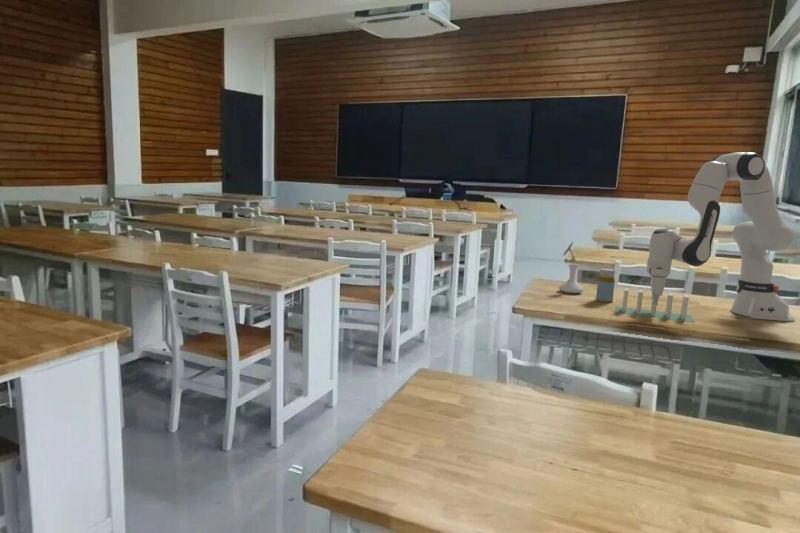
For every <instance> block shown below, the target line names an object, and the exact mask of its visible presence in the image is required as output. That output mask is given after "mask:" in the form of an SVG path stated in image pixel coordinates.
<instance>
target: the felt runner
mask: <svg viewBox="0 0 800 533" xmlns="http://www.w3.org/2000/svg"><path fill="white" fill-rule="evenodd" d="M636 309H637V308H633V307H627V309H626V312H622V306H618V305H616V306H615V308H614V313H615V314H622V315H630V316H639V317H647V318H655V319H661V320H662V319H663V320H668V321H677V322H687V323H693V324H695V321H694V318H693V316H692V315H690V314H686V319H681V317H680V314H681V313H675V312H671V317H666V315H665V313H666V311H658V310H656V315H655V316H654V315H651V309H649V310H648V309H642V308H641V314H638V313H636Z"/></svg>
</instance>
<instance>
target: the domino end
mask: <svg viewBox="0 0 800 533" xmlns="http://www.w3.org/2000/svg"><path fill="white" fill-rule="evenodd" d="M629 292H630V291H629V288H625V287H624V290H623V298H622V300H623V301H622V305H621V307H622V312H626V309H627V308H628V299H629Z"/></svg>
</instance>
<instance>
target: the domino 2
mask: <svg viewBox="0 0 800 533" xmlns="http://www.w3.org/2000/svg"><path fill="white" fill-rule="evenodd" d="M657 306H658V304H657V305H653V298H652V297H651V308H650V310H651V315H654V316H655V315H656V311H657Z"/></svg>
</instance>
